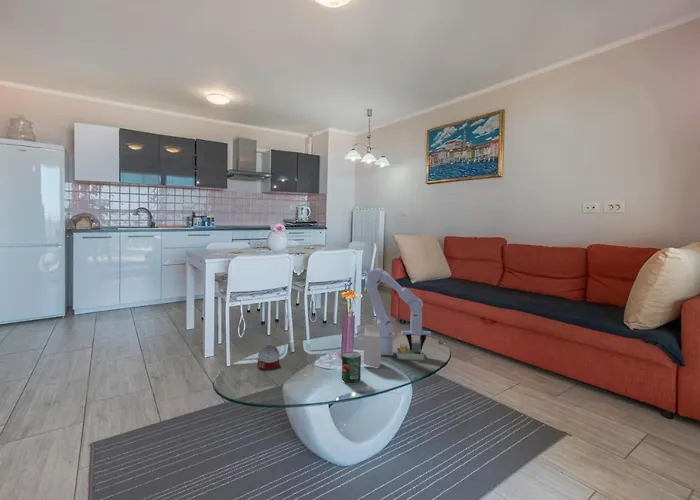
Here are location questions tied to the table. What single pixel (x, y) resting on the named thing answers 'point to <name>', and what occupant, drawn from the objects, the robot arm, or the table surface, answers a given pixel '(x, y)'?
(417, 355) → the crate
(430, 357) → the table surface
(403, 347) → the jar
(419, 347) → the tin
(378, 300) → the robot arm
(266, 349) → the grey and red dome
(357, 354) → the canned tomato
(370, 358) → the milk carton
